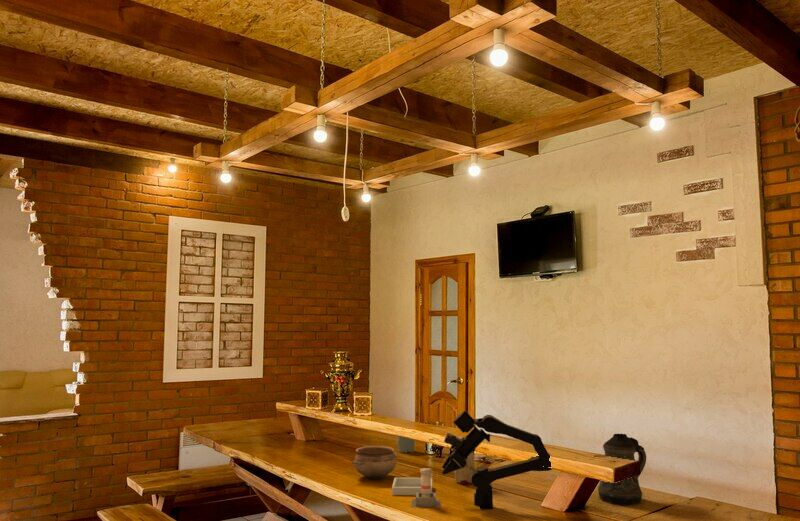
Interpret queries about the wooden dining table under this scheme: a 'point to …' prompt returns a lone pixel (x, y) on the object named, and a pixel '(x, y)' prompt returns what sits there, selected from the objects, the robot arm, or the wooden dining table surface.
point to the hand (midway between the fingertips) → (442, 470)
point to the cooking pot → (375, 461)
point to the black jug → (628, 488)
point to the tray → (407, 486)
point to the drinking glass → (405, 444)
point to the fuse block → (426, 501)
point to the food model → (466, 470)
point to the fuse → (425, 482)
